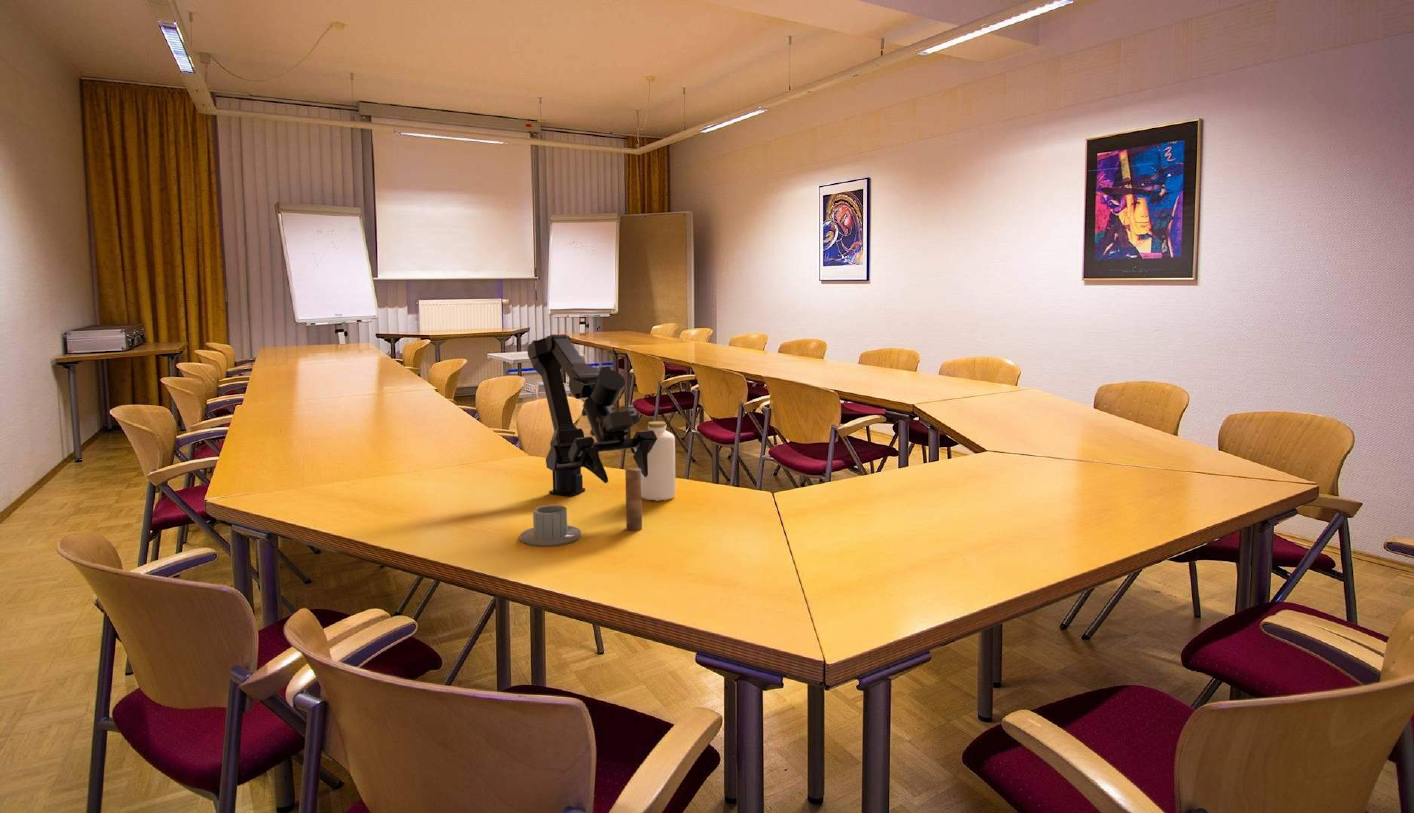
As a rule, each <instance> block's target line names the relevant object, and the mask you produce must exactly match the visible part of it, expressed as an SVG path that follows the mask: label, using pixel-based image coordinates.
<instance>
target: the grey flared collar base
mask: <svg viewBox="0 0 1414 813" xmlns="http://www.w3.org/2000/svg"><path fill="white" fill-rule="evenodd" d="M567 511H568V509H567V507H566V506H564V505H559V504H558V505H557V504H547V505H541V506H538V507H535V508H533V510H532V518H533V521H532V523H533V527H531V528H528V529H526V530H523V531H522V532H521V533H520V535H519V540H520V542H521V543H523V544H524V545H527V546H531V547H542V548H544V547H545V548H546V547H548V548H549V547H558V546H565V545H568V544H572V543H574V542H577V541H578V540H580V538H582V530H581V529H580V528H578V527H576V526H573V525H568V512H567Z"/></svg>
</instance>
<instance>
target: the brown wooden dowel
mask: <svg viewBox="0 0 1414 813" xmlns="http://www.w3.org/2000/svg"><path fill="white" fill-rule="evenodd" d="M624 471H625V514H626V515H625V516H626V517H625V522H626V523H625V524H626V530H627V531H630V532H638V530H639V531H641V530H643V511H642V510H643V507H642V506H643V505H642V504H643V502H642V501H643V500H642V499H643V497H642V494H641V469H640V468H639V467H629V468H628V467H627V468H625V470H624ZM640 529H641V530H640Z"/></svg>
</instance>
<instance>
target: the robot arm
mask: <svg viewBox="0 0 1414 813" xmlns="http://www.w3.org/2000/svg"><path fill="white" fill-rule="evenodd" d="M571 341H572V340H571V337H570V336H569V334H564V333H563V334H562V333H561V334H550V335H547V336H545V337H544V338H541V339H534V340H532V341H531V342H530V344H529V345H528V347H527V357H528V359H529V360H530V364H531V367H532V368H533V369H534V371H535V372H537V374H539V375H540V376H541V379H542V383H543V388H544V392H545V396H546V400H547V404H548V405H547V406H548V410H549V414H550V417H551V422H552V427H553V434H552V437H551V440H550V442H549V445H550V448H549V450H548V453H547V455H546V457H545V465H546V468H547V469H549V470H550V471H552V472H551V473H552V489H551V490H549V491H548V494H552V495H557V496H565V497H571V496H572V497H573V496H574V494H575V495H577V494H580V493H582V492H581V491H583V492H585V491H586V488H585V487H583V483H584V482H583V473H582V470H581V469H582V468H585V469H587V470H588V471H589V472H591V473H592V474H593V475H595V476H596V477H597V478H598V479H600V481H602V482H603V483H605V484H607V483H609V478H608V474H607V472H606V470H605V467H604V465H603V462H602V459H601V458H600V452H605V451H606V452H612V451H619V450H626V449H627V450H628V449H629V450H630V452H631V454H633V456H632V457H633V460H634V462H635V463H636V465H637V468H640V469H641V473H642V474H643V475H644V477H647V475H648V460H647V456H648V453H649V452H650V451H651V449H652V447H653V446H654V444H655V442H656V440H657V436H656V434H655V432H654V431H653V430H649V429H645V430H637V431H636V432H635V434H634V435H633V437H632V438H625V436H627V435H628V433H629V430H628V429H629V428H631V427H634V425H636V424H637V423H639V422H640V417H639V412H638V411H637V409H636V408H635V407H632V408H627V409H626V410H623V411H614V410H613V407H612V406H614V405H615V404H616V403H617V401H618V399H619V397H620V395H621V392H622V391H623V389H624V386H625V384H626V381H625V378H624V376H623V375H622V374H621V373H619V372H618V371H616V370H613V369H612V368H611V367H610V365H609V366H606V365H605V366H601V367H600V369H598V368H597V367H595V366H592V365H589V364H588V363H586V361H585V360H584V358H583V357H582V355H581V354H580V353H579V351H578V350H577V348H576V346H574V344H573V343H572V342H571ZM562 370H564V372H565V373H566V375H567V376H568V378H569V380H568V388H569V391H570V393H571V395H572V396H573V398H574V399H576V400H580V399H581V400H583V399H585V400H584V403H583V405H582V407H583V408H582V410H581V415H582V416H583V417H587V420H588V422H589V425H590V428H591V430H590V432H589V433H590V435H591V436H585V434H584V430H583V429H582V428H580V427H579V428H577V427H576V426H575V424H574V422H573V417H572V413H571V409H570V404H569V401H568V400H569V399H568V396H567V391H566V388H565V383H564V379H563V373H562ZM593 436H594V437H593ZM594 438H595V439H594ZM595 440H596V442H595ZM579 492H580V493H579Z"/></svg>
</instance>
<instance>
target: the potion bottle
mask: <svg viewBox="0 0 1414 813" xmlns="http://www.w3.org/2000/svg"><path fill="white" fill-rule="evenodd" d="M647 430H653V431H654V432H655V434H656V436H657V440H656V442H655V444H654V446H653V447H652V449H651V451H650V452H649V453H648V456H647V460H648V475H647V477H644V475H643V474H642V473H641V494H642V499H643V500H646V501H650V500H655V501H654V502H660V501H659V500H664V501H669V500H671V499H672V498H674V497H675V496H676V445H675V444H676V437H675V435H674V434H673V433H672V432H670V431H668V430H667V425H666V421H660V420H655V421H649V422H648V426H647Z"/></svg>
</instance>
